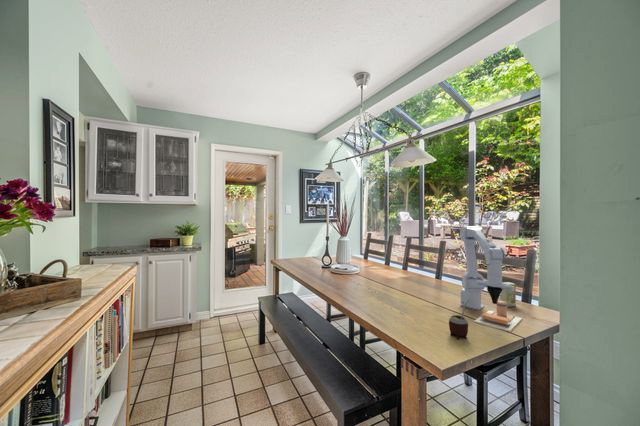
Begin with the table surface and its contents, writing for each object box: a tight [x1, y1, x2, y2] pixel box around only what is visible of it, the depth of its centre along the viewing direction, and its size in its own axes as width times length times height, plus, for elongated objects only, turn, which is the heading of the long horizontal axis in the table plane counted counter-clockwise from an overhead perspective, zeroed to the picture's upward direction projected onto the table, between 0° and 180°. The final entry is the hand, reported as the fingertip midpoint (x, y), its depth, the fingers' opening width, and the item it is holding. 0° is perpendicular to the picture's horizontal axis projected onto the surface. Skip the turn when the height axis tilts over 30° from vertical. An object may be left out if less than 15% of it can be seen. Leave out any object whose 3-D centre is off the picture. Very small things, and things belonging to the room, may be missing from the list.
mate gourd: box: [448, 300, 469, 340], centre depth 110 cm, size 8×8×15 cm
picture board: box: [474, 309, 523, 333], centre depth 125 cm, size 14×20×1 cm
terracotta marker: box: [496, 300, 508, 318], centre depth 129 cm, size 4×4×7 cm
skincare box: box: [499, 281, 517, 308], centre depth 146 cm, size 6×4×12 cm
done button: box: [480, 312, 509, 324], centre depth 122 cm, size 10×4×2 cm, turn 41°
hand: (494, 303), depth 122 cm, fingers closed
